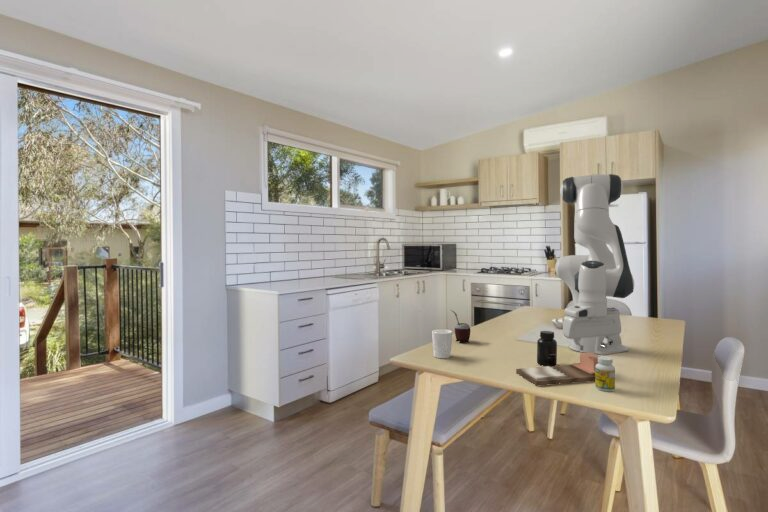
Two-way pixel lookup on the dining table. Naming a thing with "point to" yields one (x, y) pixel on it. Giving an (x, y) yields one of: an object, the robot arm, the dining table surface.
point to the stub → (587, 362)
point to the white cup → (442, 343)
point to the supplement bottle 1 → (547, 349)
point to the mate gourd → (462, 331)
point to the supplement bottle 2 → (605, 374)
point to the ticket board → (555, 374)
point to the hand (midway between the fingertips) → (592, 349)
